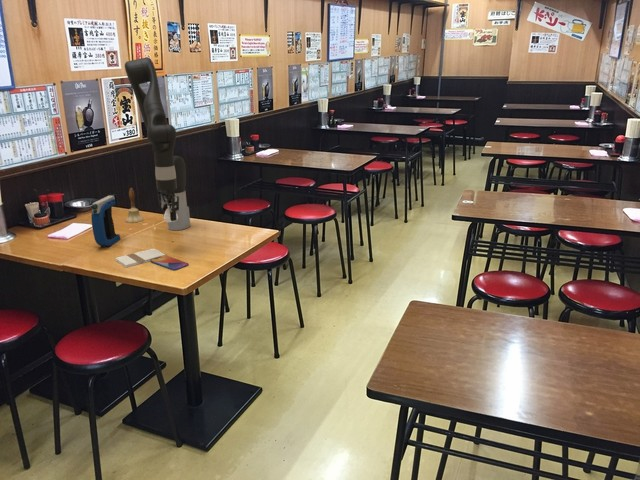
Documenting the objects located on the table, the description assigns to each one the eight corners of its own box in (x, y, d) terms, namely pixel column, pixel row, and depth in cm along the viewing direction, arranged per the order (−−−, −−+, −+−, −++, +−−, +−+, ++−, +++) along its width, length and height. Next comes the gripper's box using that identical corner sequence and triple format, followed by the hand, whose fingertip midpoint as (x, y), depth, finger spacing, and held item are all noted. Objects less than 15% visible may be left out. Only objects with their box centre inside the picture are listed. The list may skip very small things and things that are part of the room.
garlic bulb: (179, 204, 206) (170, 208, 201) (180, 219, 208) (172, 223, 203) (168, 203, 208) (159, 207, 203) (169, 218, 210) (161, 221, 205)
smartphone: (174, 272, 190) (174, 269, 189) (149, 262, 198) (149, 260, 198) (190, 266, 195) (190, 263, 195) (165, 257, 204) (165, 254, 203)
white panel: (154, 250, 210) (153, 248, 210) (165, 257, 203) (165, 254, 203) (115, 260, 200) (114, 257, 199) (126, 267, 193) (125, 265, 192)
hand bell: (140, 216, 255) (137, 185, 250) (145, 221, 249) (141, 188, 243) (123, 219, 251) (119, 187, 246) (127, 224, 244) (123, 191, 239)
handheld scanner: (124, 237, 226) (117, 193, 219) (106, 250, 210) (98, 203, 204) (114, 237, 226) (106, 193, 220) (95, 250, 211) (87, 203, 204)
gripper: (183, 178, 198) (187, 221, 203) (166, 173, 208) (170, 213, 213) (165, 181, 193) (169, 224, 199) (148, 175, 203) (153, 217, 209)
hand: (170, 218), depth 206 cm, fingers closed on garlic bulb, 5 cm apart
